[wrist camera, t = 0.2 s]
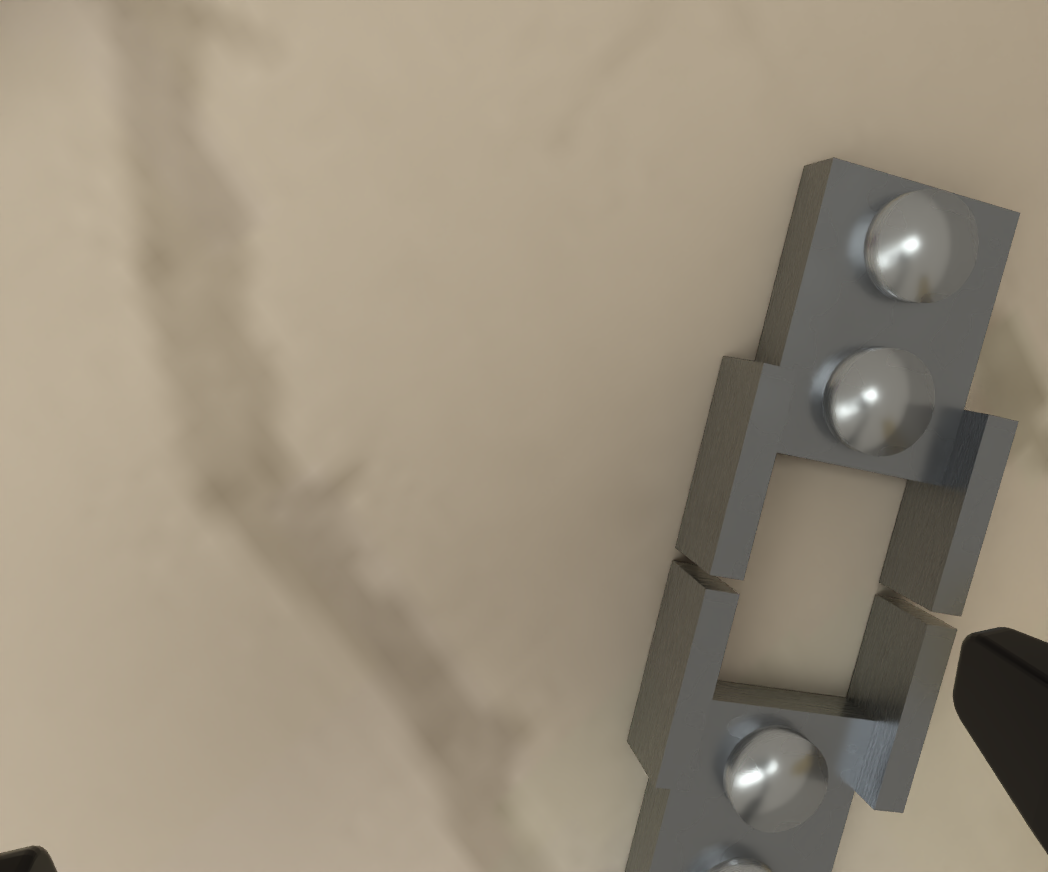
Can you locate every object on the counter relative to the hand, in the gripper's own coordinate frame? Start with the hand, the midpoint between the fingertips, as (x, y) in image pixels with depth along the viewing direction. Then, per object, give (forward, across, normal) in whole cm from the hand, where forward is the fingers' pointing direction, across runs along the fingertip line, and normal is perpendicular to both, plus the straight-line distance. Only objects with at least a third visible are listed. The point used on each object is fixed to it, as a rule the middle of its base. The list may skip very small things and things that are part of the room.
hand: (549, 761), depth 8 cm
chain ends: (+14, -11, +9) cm, 20 cm away
